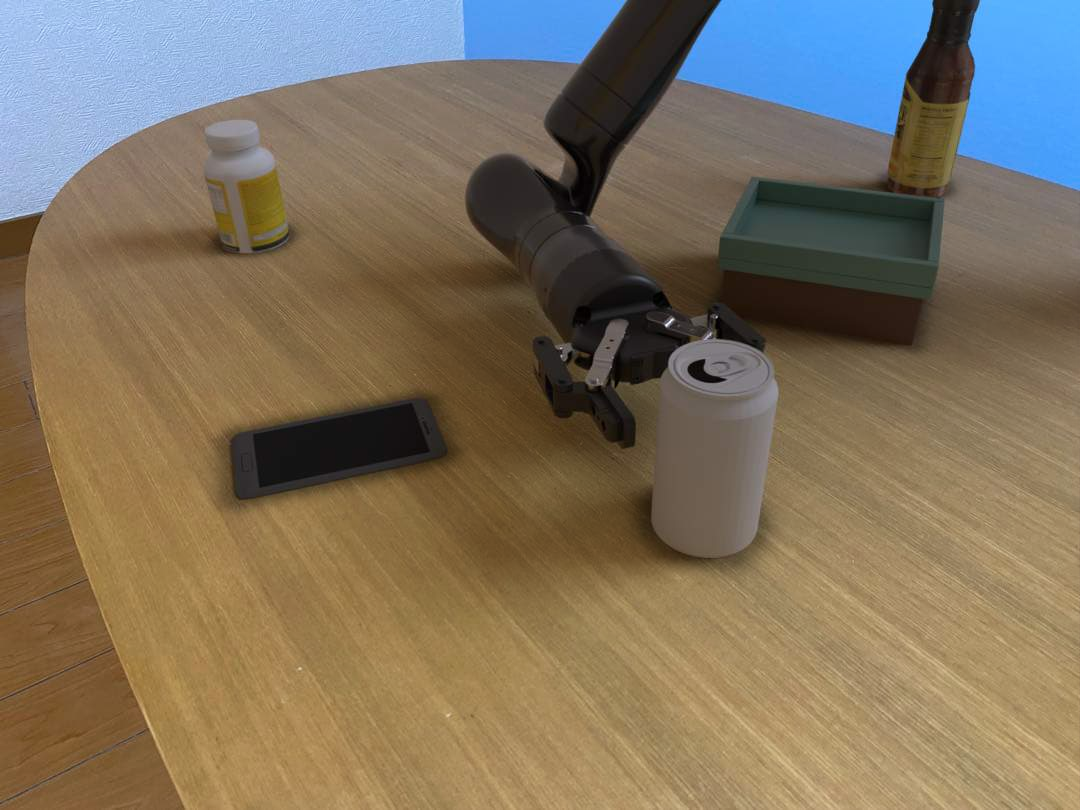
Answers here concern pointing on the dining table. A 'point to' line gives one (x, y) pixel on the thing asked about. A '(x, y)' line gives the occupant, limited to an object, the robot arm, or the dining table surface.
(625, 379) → the robot arm
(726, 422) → the beverage can
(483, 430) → the dining table surface
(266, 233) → the pill bottle
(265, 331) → the dining table surface
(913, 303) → the storage box
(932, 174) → the sauce bottle
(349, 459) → the cell phone
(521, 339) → the dining table surface
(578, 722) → the dining table surface
